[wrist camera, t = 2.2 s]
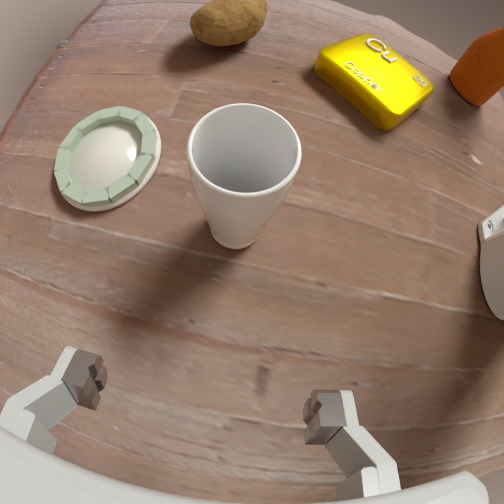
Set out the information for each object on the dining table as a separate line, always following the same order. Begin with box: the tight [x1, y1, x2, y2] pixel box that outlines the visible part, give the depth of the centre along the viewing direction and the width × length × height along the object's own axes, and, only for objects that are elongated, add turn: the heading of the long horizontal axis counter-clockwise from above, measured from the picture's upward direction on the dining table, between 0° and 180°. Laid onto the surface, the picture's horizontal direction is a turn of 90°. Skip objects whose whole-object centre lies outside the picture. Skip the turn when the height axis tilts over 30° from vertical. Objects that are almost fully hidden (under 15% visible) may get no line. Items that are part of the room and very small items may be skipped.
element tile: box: [314, 34, 433, 131], centre depth 36 cm, size 15×15×5 cm
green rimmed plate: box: [54, 106, 162, 212], centre depth 30 cm, size 14×14×2 cm
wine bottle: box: [450, 27, 504, 106], centre depth 27 cm, size 10×10×30 cm
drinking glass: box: [187, 103, 301, 249], centre depth 23 cm, size 7×7×15 cm
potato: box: [190, 0, 267, 46], centre depth 34 cm, size 10×14×8 cm
